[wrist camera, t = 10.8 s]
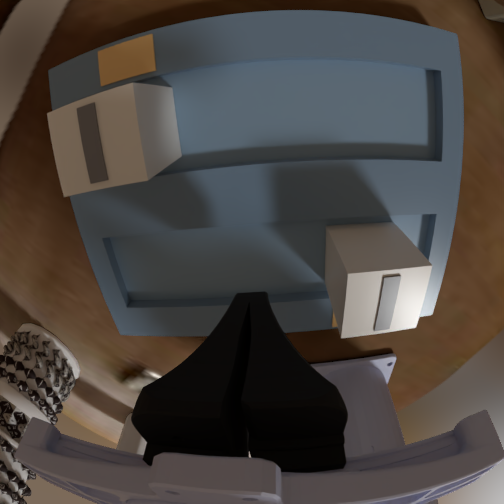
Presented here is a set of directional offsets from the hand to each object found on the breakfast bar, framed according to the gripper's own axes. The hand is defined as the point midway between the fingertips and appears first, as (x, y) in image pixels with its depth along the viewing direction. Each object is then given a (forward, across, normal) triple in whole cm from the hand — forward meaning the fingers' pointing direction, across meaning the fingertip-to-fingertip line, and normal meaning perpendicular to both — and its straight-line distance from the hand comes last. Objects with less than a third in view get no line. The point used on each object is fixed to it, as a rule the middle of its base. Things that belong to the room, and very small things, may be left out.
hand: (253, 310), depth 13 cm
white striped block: (+4, +5, -8) cm, 10 cm away
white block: (+4, -6, 0) cm, 7 cm away
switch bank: (+6, -1, -4) cm, 7 cm away
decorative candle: (+6, +23, +10) cm, 26 cm away
